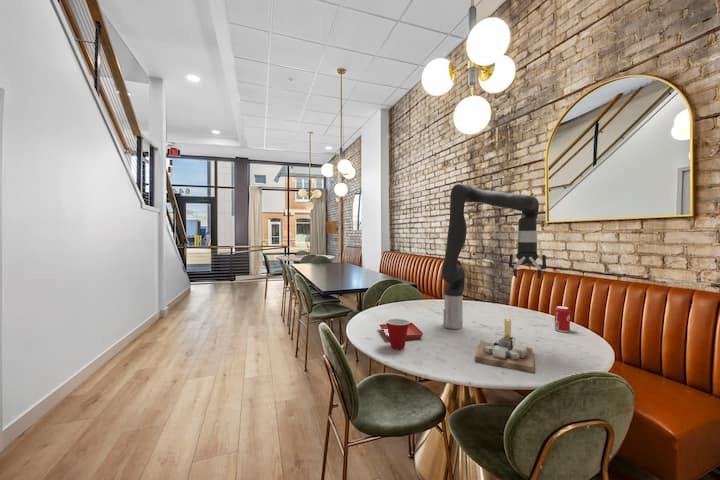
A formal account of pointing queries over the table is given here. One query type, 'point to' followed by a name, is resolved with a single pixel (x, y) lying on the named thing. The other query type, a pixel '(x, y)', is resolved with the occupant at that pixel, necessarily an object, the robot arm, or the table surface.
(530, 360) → the walnut base
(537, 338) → the table surface
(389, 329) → the plastic cup
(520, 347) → the ring nut
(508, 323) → the brass pin
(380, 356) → the table surface
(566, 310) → the beverage can
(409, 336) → the plant saucer
